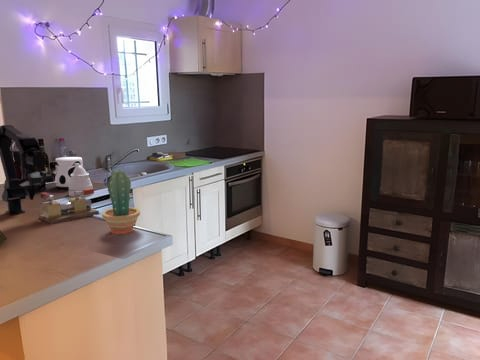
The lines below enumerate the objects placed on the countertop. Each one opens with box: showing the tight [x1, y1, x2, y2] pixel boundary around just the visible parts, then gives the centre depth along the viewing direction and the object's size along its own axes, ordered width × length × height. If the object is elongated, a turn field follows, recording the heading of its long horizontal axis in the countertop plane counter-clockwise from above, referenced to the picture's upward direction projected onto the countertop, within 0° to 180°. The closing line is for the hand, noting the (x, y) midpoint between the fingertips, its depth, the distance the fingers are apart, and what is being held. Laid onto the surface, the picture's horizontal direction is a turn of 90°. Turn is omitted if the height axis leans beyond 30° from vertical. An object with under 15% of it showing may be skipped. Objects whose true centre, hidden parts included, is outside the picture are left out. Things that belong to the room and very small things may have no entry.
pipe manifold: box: [41, 187, 95, 219], centre depth 182 cm, size 6×23×10 cm, turn 138°
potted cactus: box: [101, 169, 141, 235], centre depth 160 cm, size 15×15×25 cm
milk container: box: [54, 156, 84, 189], centre depth 243 cm, size 17×17×18 cm
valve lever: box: [39, 192, 55, 202], centre depth 177 cm, size 9×3×2 cm, turn 48°
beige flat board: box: [38, 207, 100, 225], centre depth 182 cm, size 13×22×2 cm, turn 138°
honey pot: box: [68, 163, 94, 198], centre depth 225 cm, size 13×13×18 cm
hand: (31, 199), depth 175 cm, fingers closed
